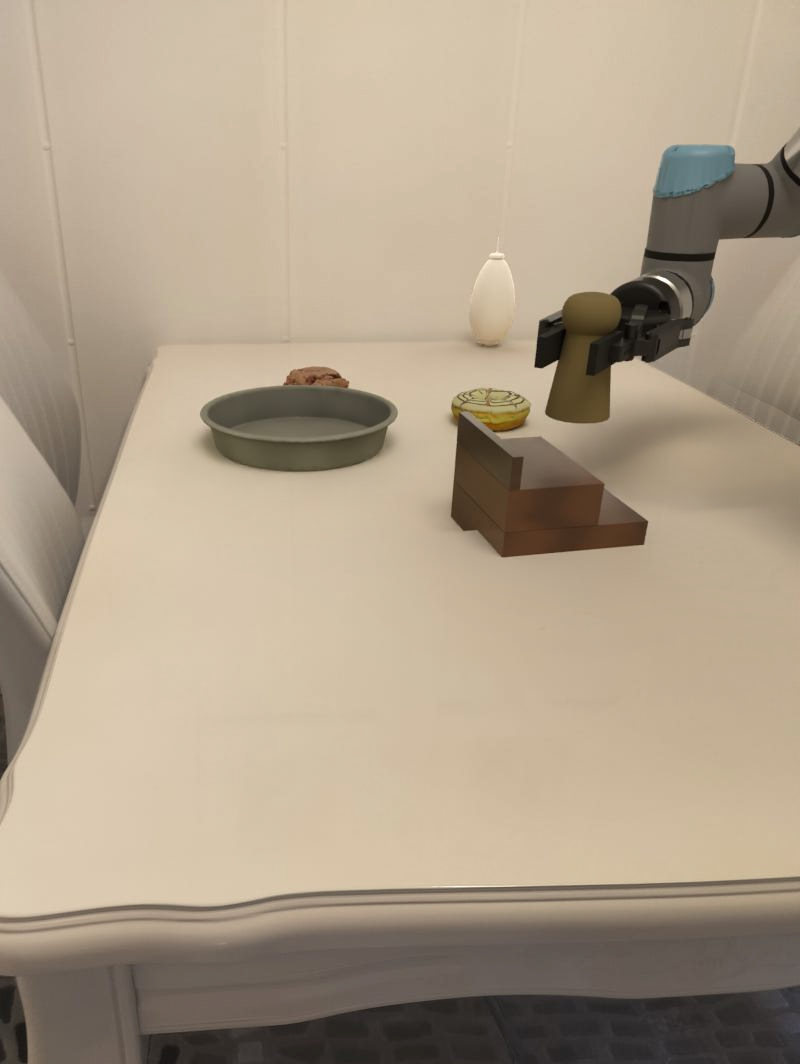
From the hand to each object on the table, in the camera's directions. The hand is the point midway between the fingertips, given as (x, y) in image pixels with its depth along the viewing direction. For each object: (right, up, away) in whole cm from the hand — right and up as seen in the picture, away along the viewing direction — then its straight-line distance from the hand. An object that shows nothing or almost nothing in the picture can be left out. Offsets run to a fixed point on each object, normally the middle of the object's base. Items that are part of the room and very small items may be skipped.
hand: (565, 356), depth 81 cm
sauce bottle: (+9, +28, +85) cm, 90 cm away
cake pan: (-24, 0, +36) cm, 43 cm away
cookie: (-22, +13, +58) cm, 64 cm away
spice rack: (0, -15, +10) cm, 18 cm away
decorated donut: (+1, +5, +44) cm, 44 cm away
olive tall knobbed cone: (+3, -4, +7) cm, 9 cm away
